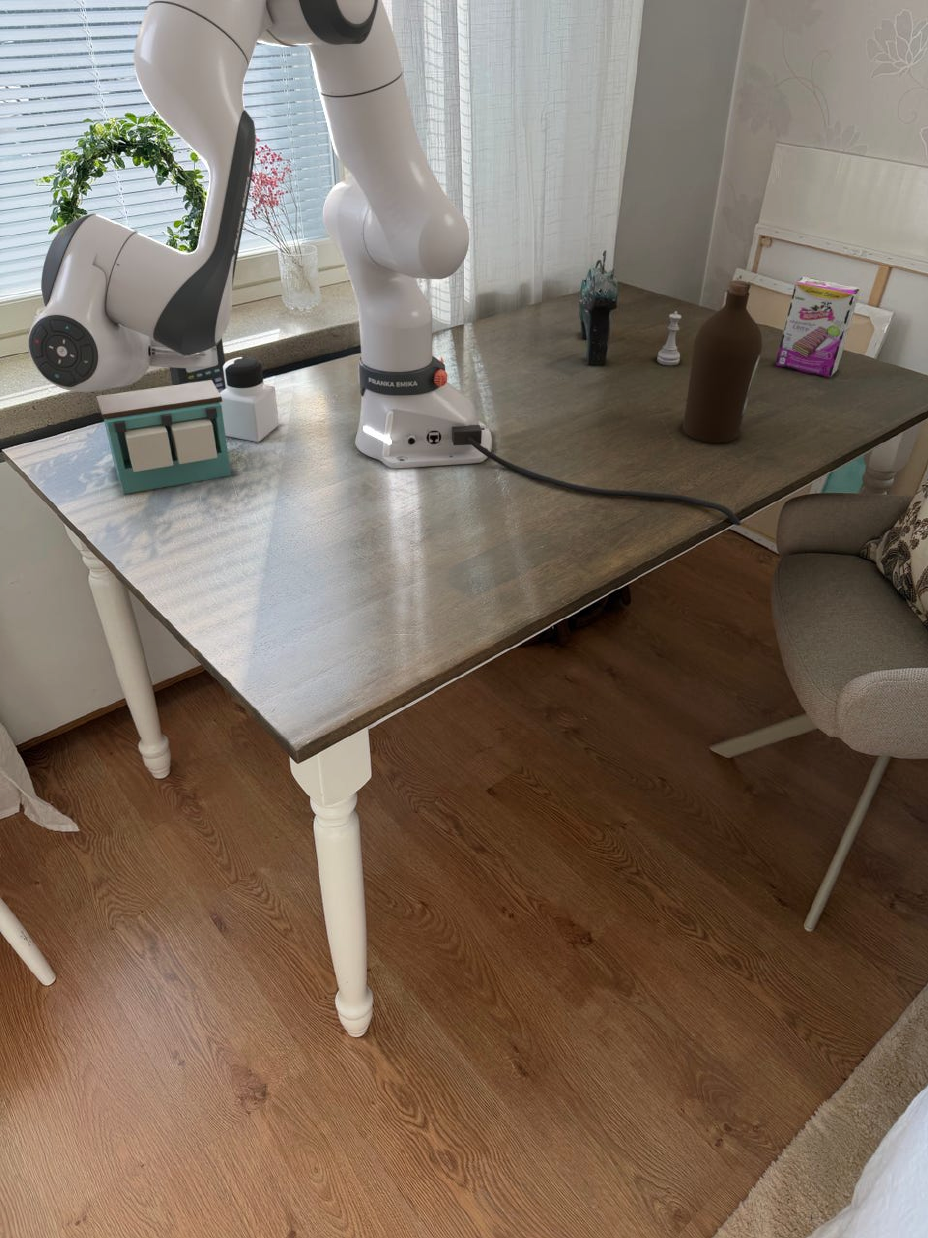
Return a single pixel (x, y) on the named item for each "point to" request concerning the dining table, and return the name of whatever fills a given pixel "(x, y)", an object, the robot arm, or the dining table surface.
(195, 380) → the card reader
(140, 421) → the toy piano
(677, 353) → the chess piece
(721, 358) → the olive oil
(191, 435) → the piano key right
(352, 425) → the dining table surface
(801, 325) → the candy bar box
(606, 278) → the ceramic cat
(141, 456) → the piano key left
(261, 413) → the medicine bottle
